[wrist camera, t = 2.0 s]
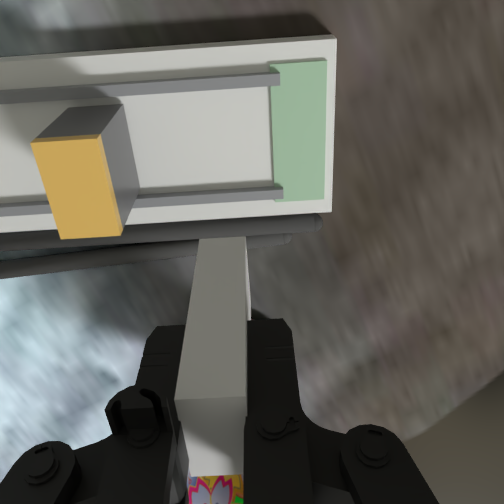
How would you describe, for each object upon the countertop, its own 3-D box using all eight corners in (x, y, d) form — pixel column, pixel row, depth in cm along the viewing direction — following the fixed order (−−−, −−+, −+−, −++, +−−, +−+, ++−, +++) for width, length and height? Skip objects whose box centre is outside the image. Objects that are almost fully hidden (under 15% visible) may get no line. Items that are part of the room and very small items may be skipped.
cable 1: (-51, 248, 33) (-60, 258, 32) (-58, 233, 32) (-67, 242, 31) (321, 225, 32) (323, 234, 31) (321, 209, 32) (324, 218, 31)
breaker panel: (-67, 226, 32) (-85, 242, 30) (-143, 67, 26) (-171, 75, 25) (327, 200, 31) (333, 216, 30) (332, 34, 26) (338, 40, 24)
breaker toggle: (90, 191, 29) (60, 239, 24) (68, 107, 26) (29, 142, 21) (140, 188, 29) (120, 235, 24) (123, 103, 26) (97, 138, 21)
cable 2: (-36, 277, 34) (-44, 287, 33) (-44, 263, 33) (-53, 273, 32) (291, 237, 33) (293, 246, 32) (290, 222, 32) (291, 231, 31)
